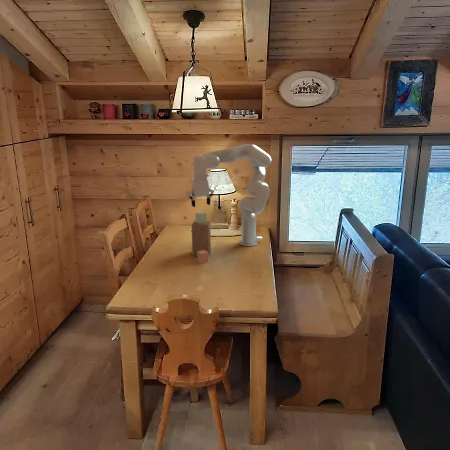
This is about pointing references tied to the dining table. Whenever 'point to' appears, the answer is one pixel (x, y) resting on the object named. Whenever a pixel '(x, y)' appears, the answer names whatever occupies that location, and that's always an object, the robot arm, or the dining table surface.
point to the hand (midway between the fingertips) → (201, 205)
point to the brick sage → (201, 217)
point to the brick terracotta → (202, 256)
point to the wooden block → (201, 237)
